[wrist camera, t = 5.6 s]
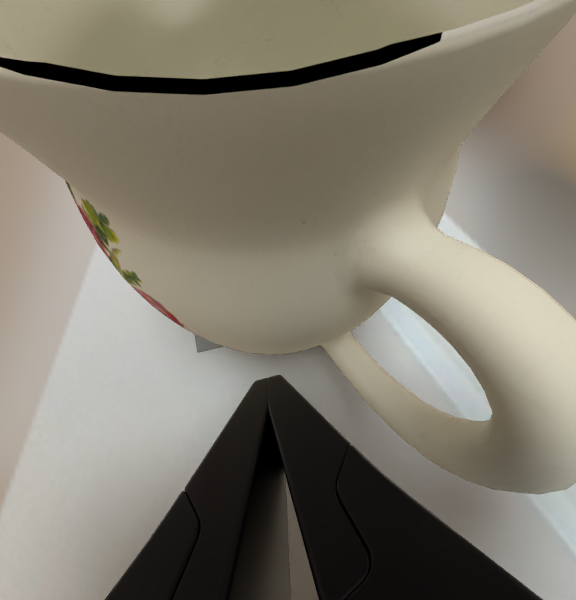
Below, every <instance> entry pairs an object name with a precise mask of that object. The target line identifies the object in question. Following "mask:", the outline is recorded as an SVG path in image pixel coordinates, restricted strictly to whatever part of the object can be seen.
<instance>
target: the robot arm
mask: <svg viewBox="0 0 576 600" xmlns="http://www.w3.org/2000/svg"><path fill="white" fill-rule="evenodd" d="M286 479H287V483H288V486H289V490H290V494H291V497H292V501H293V505H294V509H295V512H296V516H297V520H298V523H299V527H300V531H301V535H302V538H303V542H304V546H305V549H306V553H307V557H308V561H309V564H310V568H311V572H312V575H313V579H314V583H315V587H316V590H317V594H318V598H319V600H543V599H542V598H540V597H539V596H538V595H536V594H535V593H534V592H533V591H531V590H530V589H529V588H527V587H526V586H525V585H524V584H522V583H521V582H520V581H518V580H517V579H516V578H515V577H513V576H512V575H511V574H509V573H508V572H507V571H506V570H504V569H503V568H502V567H500V566H499V565H498V564H497V563H495V562H494V561H493V560H491V559H490V558H489V557H488V556H486V555H485V554H484V553H482V552H481V551H480V550H479V549H477V548H476V547H475V546H473V545H472V544H471V543H470V542H468V541H467V540H466V539H464V538H463V537H462V536H461V535H459V534H458V533H457V532H455V531H454V530H453V529H452V528H450V527H449V526H448V525H446V524H445V523H444V522H443V521H441V520H440V519H439V518H437V517H436V516H435V515H434V514H432V513H431V512H430V511H428V510H427V509H426V508H425V507H423V506H422V505H421V504H419V503H418V502H417V501H416V500H414V499H413V498H412V497H411V496H409V495H408V494H407V493H406V492H404V491H403V490H402V489H401V488H400V487H398V486H397V485H396V484H395V483H393V482H392V481H391V480H390V479H389V478H387V477H386V476H385V475H384V474H383V473H382V472H381V471H380V470H378V469H377V468H376V467H375V466H374V465H373V464H372V463H371V462H370V461H369V460H368V459H366V458H365V457H364V456H363V455H362V454H361V453H360V452H359V451H358V450H357V449H356V448H355V447H354V446H353V445H351V444H350V443H349V442H348V441H347V440H346V439H345V438H344V437H343V436H342V435H341V434H340V433H339V432H338V431H337V430H336V429H335V428H334V427H333V426H332V425H331V424H330V423H329V422H328V421H327V420H326V419H325V418H324V417H323V416H322V415H321V414H320V413H319V412H318V411H317V410H316V409H315V408H314V407H313V406H312V405H311V404H310V403H309V402H308V401H307V400H306V399H305V398H304V397H303V396H302V395H301V394H300V393H299V392H298V391H297V390H296V389H295V388H294V387H293V386H292V385H291V384H289V383H288V382H287V381H286V380H285V379H284V378H283V377H282V376H281V375H276V376H273V377H269V378H265V379H261V380H257V381H255V382H254V383H253V385H252V386H251V388H250V389H249V391H248V392H247V394H246V395H245V397H244V398H243V400H242V402H241V403H240V405H239V406H238V408H237V409H236V411H235V412H234V414H233V415H232V417H231V418H230V420H229V421H228V423H227V424H226V426H225V427H224V429H223V430H222V432H221V433H220V435H219V437H218V438H217V440H216V441H215V443H214V444H213V446H212V447H211V449H210V450H209V452H208V453H207V455H206V456H205V458H204V459H203V461H202V462H201V464H200V465H199V467H198V469H197V470H196V472H195V473H194V475H193V476H192V478H191V479H190V481H189V482H188V484H187V485H186V487H185V491H182V492H181V493H180V495H179V496H178V498H177V499H176V501H175V502H174V504H173V506H172V507H171V509H170V510H169V512H168V513H167V514H166V516H165V517H164V519H163V520H162V522H161V523H160V525H159V526H158V528H157V529H156V530H155V532H154V533H153V535H152V536H151V538H150V539H149V541H148V542H147V543H146V545H145V546H144V547H143V549H142V550H141V552H140V553H139V554H138V556H137V557H136V558H135V560H134V561H133V562H132V564H131V565H130V566H129V568H128V569H127V570H126V572H125V573H124V575H123V576H122V577H121V579H120V580H119V581H118V583H117V584H116V585H115V587H114V588H113V589H112V591H111V592H110V593H109V595H108V596H107V597H106V598H105V600H291V595H290V570H289V546H288V521H287V496H286Z"/></svg>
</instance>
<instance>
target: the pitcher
mask: <svg viewBox="0 0 576 600" xmlns="http://www.w3.org/2000/svg"><path fill="white" fill-rule="evenodd" d="M575 13H576V0H0V132H2V133H3V134H4V135H6V136H7V137H9V138H10V139H11V140H13V141H14V142H15V143H17V144H18V145H20V146H21V147H22V148H24V149H25V150H27V151H28V152H29V153H30V154H32V155H33V156H34V157H36V158H37V159H38V160H39V161H41V162H42V163H43V164H45V165H46V166H47V167H48V168H50V169H51V170H52V171H54V172H55V173H56V174H58V175H59V176H60V177H62V178H63V179H64V180H65V181H66V184H67V185H68V188H69V190H70V192H71V194H72V196H73V199H74V201H75V203H76V205H77V207H78V209H79V211H80V213H81V214H82V217H83V219H84V221H85V222H86V224H87V226H88V227H89V229H90V231H91V233H92V235H93V236H94V238H95V240H96V242H97V243H98V245H99V247H100V248H101V249H102V250H103V252H104V253H105V254H106V256H107V257H108V258H109V260H110V261H111V262H112V264H113V265H114V266H115V268H116V269H117V270H118V272H119V273H120V274H121V275H122V277H123V278H124V279H125V280H126V281H127V282H128V283H129V284H130V285H131V286H132V287H133V288H134V289H135V290H136V291H137V292H138V293H139V294H140V295H141V296H142V297H143V298H144V299H145V300H147V301H148V302H149V303H150V304H151V305H152V306H153V307H155V308H156V309H157V310H158V311H160V312H161V313H162V314H164V315H165V316H166V317H168V318H169V319H171V320H172V321H174V322H175V323H177V324H178V325H180V326H181V327H183V328H185V329H186V330H188V331H190V332H192V333H194V334H196V335H198V336H200V337H202V338H204V339H206V340H208V341H210V342H213V343H216V344H219V345H222V346H225V347H228V348H231V349H235V350H238V351H243V352H249V353H255V354H285V353H295V352H298V351H302V350H305V349H309V348H313V347H316V346H319V345H321V346H322V347H323V348H324V349H325V350H326V351H327V353H328V354H329V356H330V357H331V358H332V360H333V361H334V362H335V364H336V365H337V366H338V367H339V369H340V370H341V371H342V373H343V374H344V375H345V377H346V378H347V379H348V380H349V382H350V383H351V384H352V385H353V387H354V388H355V389H356V390H357V392H358V393H359V394H360V395H361V396H362V397H363V398H364V400H365V401H366V402H367V403H368V404H369V405H370V406H371V407H372V408H373V410H374V411H375V412H376V413H377V414H378V415H379V416H380V417H381V418H382V419H383V420H384V421H385V422H386V423H387V424H388V425H389V426H390V427H391V428H392V429H393V430H394V431H395V432H396V433H397V434H398V435H400V436H401V437H402V438H403V439H404V440H405V441H406V442H407V443H408V444H410V445H411V446H412V447H413V448H415V449H416V450H417V451H418V452H419V453H421V454H422V455H423V456H425V457H426V458H428V459H429V460H431V461H432V462H434V463H435V464H437V465H438V466H440V467H441V468H443V469H445V470H447V471H449V472H451V473H453V474H455V475H457V476H459V477H461V478H463V479H465V480H467V481H470V482H473V483H476V484H479V485H482V486H485V487H488V488H491V489H495V490H503V491H510V492H518V493H529V494H544V493H549V492H554V491H559V490H565V489H567V488H569V487H570V486H571V485H573V484H574V483H576V319H575V318H574V317H573V316H572V315H571V314H569V313H568V312H567V311H566V310H565V309H564V308H563V307H562V306H561V305H560V304H558V302H557V301H555V300H554V299H553V298H552V297H551V296H550V295H549V294H548V293H547V292H546V291H545V290H544V289H542V288H541V287H539V286H538V285H536V284H535V283H534V282H532V281H531V280H530V279H528V278H527V277H525V276H524V275H522V274H521V273H519V272H518V271H516V270H515V269H514V268H512V267H511V266H509V265H507V264H506V263H504V262H502V261H500V260H498V259H497V258H495V257H493V256H491V255H489V254H487V253H485V252H484V251H481V250H479V249H477V248H474V247H472V246H470V245H467V244H465V243H463V242H461V241H458V240H456V239H454V238H452V237H449V236H447V235H445V234H444V233H443V232H441V231H440V230H439V229H438V228H437V227H438V224H439V222H440V220H441V218H442V216H443V212H444V209H445V206H446V203H447V199H448V196H449V193H450V189H451V186H452V182H453V179H454V176H455V173H456V169H457V164H458V160H459V155H460V150H461V146H462V143H463V141H464V140H465V139H466V137H467V136H468V135H469V134H470V132H471V131H472V130H473V129H474V127H475V126H476V125H477V124H478V122H479V121H480V120H481V119H482V118H483V116H484V115H485V114H486V113H487V112H488V111H489V109H490V108H491V107H492V106H493V105H494V104H495V103H496V102H497V101H498V99H499V98H500V97H501V96H502V95H503V94H504V93H505V92H506V90H507V89H508V88H509V87H510V86H511V85H512V84H513V83H514V81H515V80H516V79H517V78H518V77H519V76H520V75H521V74H522V73H523V71H524V70H525V69H526V68H527V67H528V66H529V65H530V64H531V63H532V61H533V60H534V59H535V58H536V57H537V56H538V55H539V54H540V53H541V52H542V50H543V49H544V48H545V47H546V46H547V45H548V44H549V43H550V42H551V40H552V39H553V38H554V37H555V36H556V35H557V34H558V32H560V31H561V29H562V28H563V27H564V26H565V25H566V24H567V23H568V21H569V20H570V19H571V18H572V16H573V15H574V14H575ZM391 297H394V298H395V299H397V300H398V301H400V302H402V303H403V304H405V305H406V306H407V307H409V308H410V309H411V310H413V311H414V312H415V313H417V314H418V315H419V316H421V317H422V318H423V319H424V320H425V321H427V322H428V323H429V324H430V325H431V326H432V327H434V328H435V329H436V330H437V331H438V332H439V333H440V334H441V335H442V336H443V337H444V338H445V339H446V340H447V341H448V342H449V343H450V344H451V345H452V346H453V347H454V349H455V350H456V351H457V352H458V353H459V355H460V356H461V357H462V358H463V359H464V361H465V362H466V363H467V364H468V366H469V367H470V368H471V370H472V371H473V373H474V374H475V376H476V378H477V379H478V381H479V383H480V384H481V386H482V387H483V389H484V391H485V393H486V396H487V399H488V401H489V404H490V407H491V409H492V413H493V414H492V416H491V419H490V420H487V421H472V420H467V419H462V418H457V417H454V416H452V415H449V414H447V413H444V412H442V411H439V410H437V409H436V408H434V407H432V406H430V405H429V404H427V403H425V402H424V401H422V400H421V399H419V398H418V397H417V396H415V395H414V394H412V393H411V392H410V391H409V390H407V389H406V388H405V387H404V386H402V385H401V384H400V383H399V382H397V381H396V380H395V379H394V378H393V377H392V376H390V375H389V374H388V373H387V372H386V371H385V370H384V369H383V368H382V367H380V366H379V365H378V364H377V363H376V361H375V360H374V359H373V358H372V357H371V356H370V355H369V354H368V353H367V352H366V351H365V350H364V348H363V347H362V346H361V345H360V343H359V342H358V341H357V340H356V338H355V337H354V336H353V335H352V331H351V330H353V329H354V328H356V327H357V326H359V325H360V324H361V323H363V322H364V321H365V320H367V319H368V318H369V317H371V316H372V315H373V314H374V313H375V312H376V311H377V310H378V309H379V308H380V307H382V306H383V305H384V304H385V303H386V302H387V301H388V300H389V299H390V298H391Z"/></svg>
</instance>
